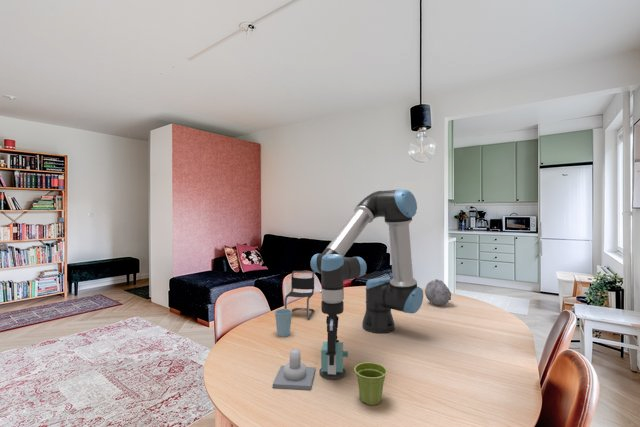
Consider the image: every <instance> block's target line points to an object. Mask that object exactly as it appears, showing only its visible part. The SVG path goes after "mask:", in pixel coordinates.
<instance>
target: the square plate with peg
mask: <svg viewBox="0 0 640 427" xmlns="http://www.w3.org/2000/svg"><path fill="white" fill-rule="evenodd" d="M301 353H302V352H301V349H297V348H294V349H290V350H289V362H287V363H286V364H284V365H280V368H279V370H278V371H277V373H276V376H275V377H274V380H273V381H272V389H285V390H286V389H287V390H301V391H302V390H303V391H304V390H305V391H311V390H312V386H313V382H314V378H315V373H316V367H315V366H307V365H306V364H305V363H304V362H302V361H301V360H302V359H301V357H302V356H301Z"/></svg>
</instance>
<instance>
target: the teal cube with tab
mask: <svg viewBox="0 0 640 427" xmlns="http://www.w3.org/2000/svg"><path fill="white" fill-rule="evenodd" d="M320 352H321V353H320V354H321V355H320V360H321V362H320V365H321V366H320V369H321V371H325V372H328V355H326V353H327V341H323V342H322V346H321V350H320ZM335 352H336V372H343V368H344V358H348V357H349V351H348V350H344V342H342V341H339V342H336V349H335Z"/></svg>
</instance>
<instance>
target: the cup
mask: <svg viewBox="0 0 640 427" xmlns="http://www.w3.org/2000/svg"><path fill="white" fill-rule="evenodd" d="M292 315H293V312H292V309H289V308H287V309H285V308H280V309H276V310H275V311H274V317H275V325H276V332H277V333H276V334H277V336H278V337H280V338H285V337H289V336H290V334H291V326H292V325H291V324H292Z"/></svg>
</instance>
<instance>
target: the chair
mask: <svg viewBox="0 0 640 427" xmlns="http://www.w3.org/2000/svg"><path fill="white" fill-rule="evenodd" d="M297 273H298V274H303V273H304V274H312V275H311V277H310V278H309V277H307V278H299V277H294V274H297ZM315 274H316V272H315V271H313V270H312V271H311V270H293V271H292V272H291V279H290V280H291V291H289V292H288V293H287V294H286V295H285V297H284V309H288V308H287V307H288V306H287V305H288V304H287V302H288V301H287V300H288V298H289V297H292V298H306V307H305V308H304V307H303V308H302V307H294V308H292V309H291V310H292V313H293V312H294V311H306V319H307V320H310V319H311V317H312V316H313V315H314V313H315V309H313V308H310V299H311V298H312V297H313V296H314V293H315ZM294 290H311V292H296V291H294Z"/></svg>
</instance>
